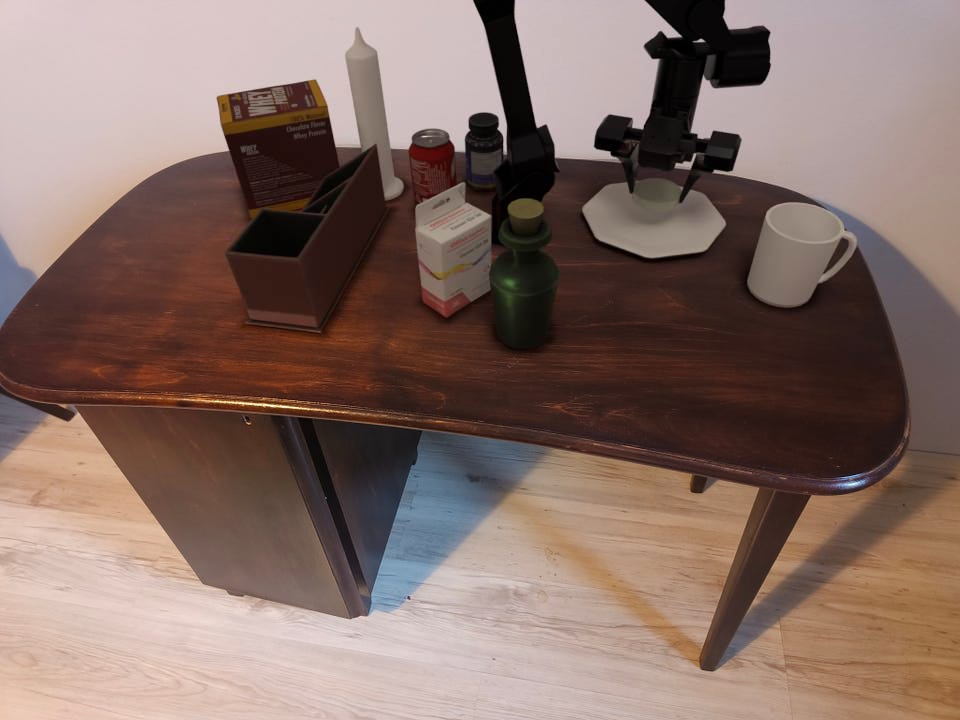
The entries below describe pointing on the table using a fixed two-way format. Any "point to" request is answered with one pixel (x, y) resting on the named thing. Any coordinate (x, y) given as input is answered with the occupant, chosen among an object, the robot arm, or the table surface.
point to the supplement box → (279, 143)
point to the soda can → (432, 165)
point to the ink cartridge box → (452, 251)
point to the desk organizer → (309, 248)
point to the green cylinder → (656, 194)
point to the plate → (652, 224)
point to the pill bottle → (483, 150)
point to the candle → (371, 109)
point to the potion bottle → (523, 277)
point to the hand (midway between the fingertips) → (655, 197)
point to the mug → (796, 253)
